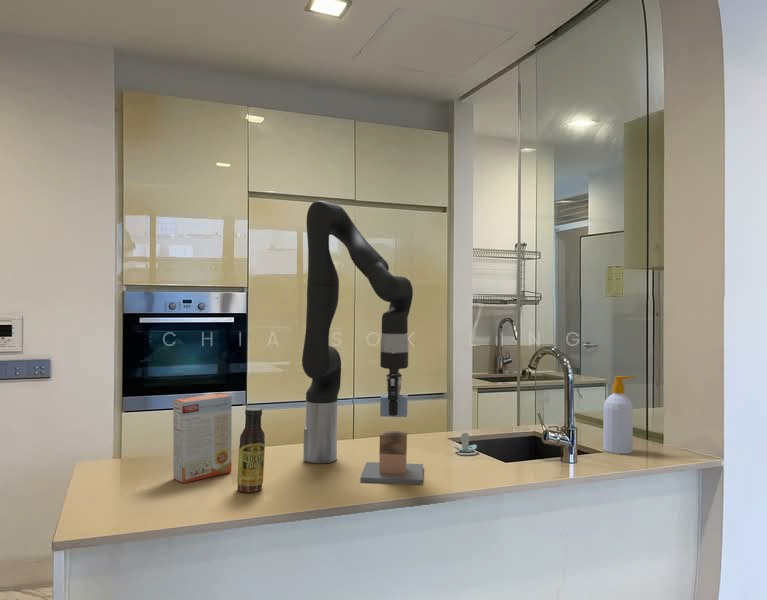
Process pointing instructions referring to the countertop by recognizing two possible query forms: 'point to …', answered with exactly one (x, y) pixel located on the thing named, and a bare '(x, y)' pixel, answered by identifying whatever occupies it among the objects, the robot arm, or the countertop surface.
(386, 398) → the slate block
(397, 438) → the walnut block
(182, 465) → the cracker box
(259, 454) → the sauce bottle
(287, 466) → the countertop surface
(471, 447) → the pacifier
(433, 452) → the countertop surface
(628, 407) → the soap bottle
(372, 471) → the baseplate
